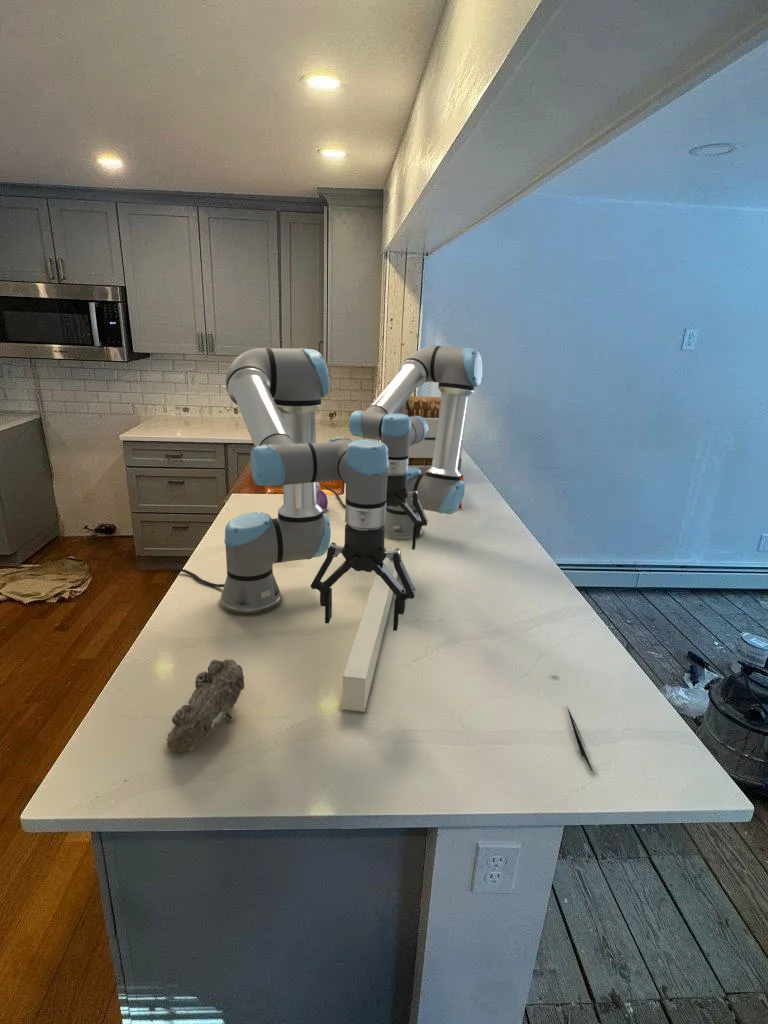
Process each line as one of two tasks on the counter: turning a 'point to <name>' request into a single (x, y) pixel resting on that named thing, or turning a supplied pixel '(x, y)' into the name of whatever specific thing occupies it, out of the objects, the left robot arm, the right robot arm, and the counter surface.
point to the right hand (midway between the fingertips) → (389, 545)
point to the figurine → (321, 497)
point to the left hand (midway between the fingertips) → (361, 623)
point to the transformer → (430, 412)
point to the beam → (367, 644)
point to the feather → (579, 740)
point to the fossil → (206, 705)
